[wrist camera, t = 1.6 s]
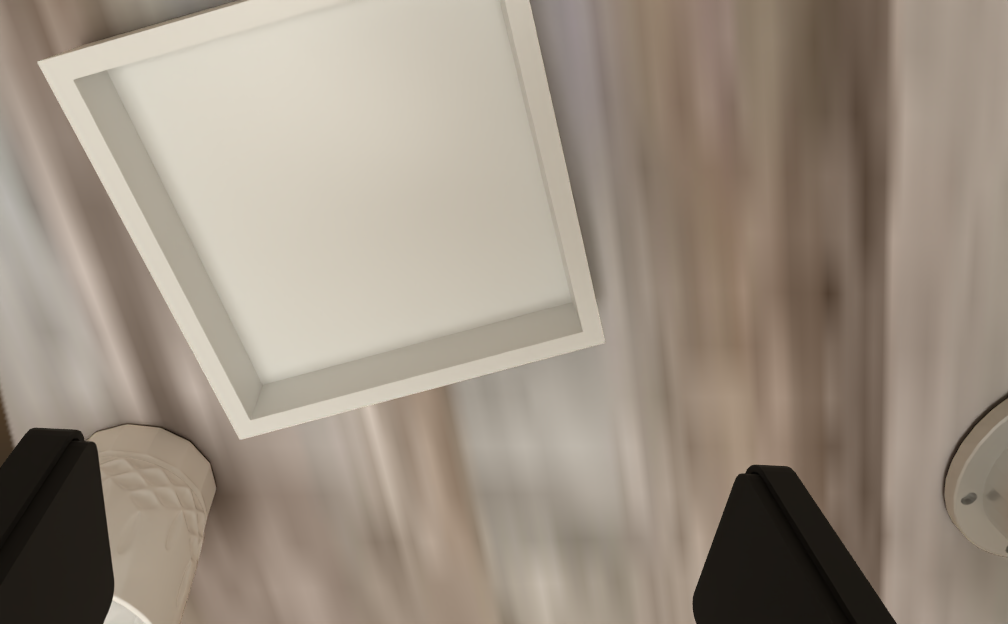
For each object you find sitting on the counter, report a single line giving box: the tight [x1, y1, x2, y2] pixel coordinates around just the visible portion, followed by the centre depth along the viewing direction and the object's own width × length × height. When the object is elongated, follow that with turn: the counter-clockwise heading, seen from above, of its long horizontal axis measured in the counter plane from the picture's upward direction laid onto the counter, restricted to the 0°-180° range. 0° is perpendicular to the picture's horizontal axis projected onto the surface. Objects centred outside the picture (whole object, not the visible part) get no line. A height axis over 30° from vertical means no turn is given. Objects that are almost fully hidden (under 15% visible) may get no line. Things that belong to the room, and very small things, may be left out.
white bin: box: [37, 0, 605, 440], centre depth 29 cm, size 16×16×4 cm
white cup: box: [87, 424, 216, 624], centre depth 32 cm, size 8×8×10 cm
